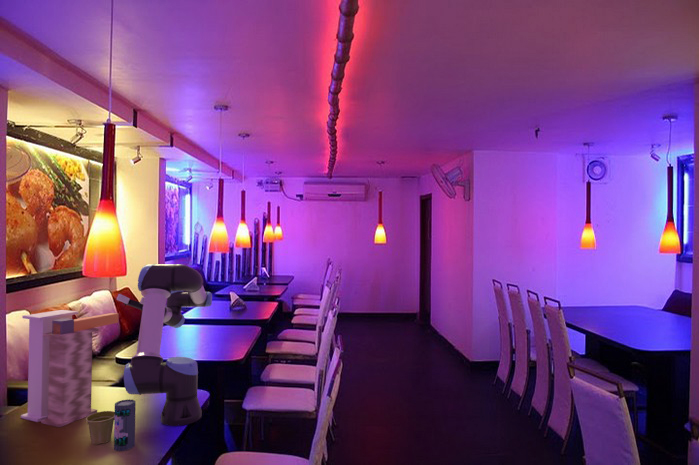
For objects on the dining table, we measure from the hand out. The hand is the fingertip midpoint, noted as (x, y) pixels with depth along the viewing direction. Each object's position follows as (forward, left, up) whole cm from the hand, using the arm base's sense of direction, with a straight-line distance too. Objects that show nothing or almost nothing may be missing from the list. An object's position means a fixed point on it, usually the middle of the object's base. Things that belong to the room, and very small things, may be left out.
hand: (129, 298), depth 200 cm
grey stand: (+19, +22, -44) cm, 53 cm away
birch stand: (+7, +24, -44) cm, 51 cm away
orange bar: (+6, +17, -10) cm, 21 cm away
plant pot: (-20, +39, -44) cm, 62 cm away
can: (-31, +41, -44) cm, 68 cm away
